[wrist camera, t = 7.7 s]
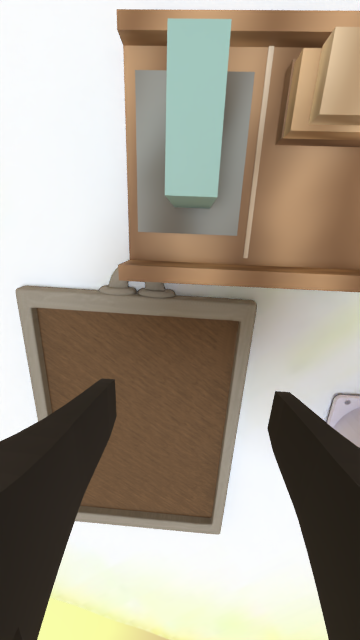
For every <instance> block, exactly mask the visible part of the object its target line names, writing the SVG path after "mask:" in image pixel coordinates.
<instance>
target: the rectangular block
mask: <svg viewBox="0 0 360 640" xmlns="http://www.w3.org/2000/svg"><path fill="white" fill-rule="evenodd" d="M231 21H232V19H173V18H168V22H167V84H166V146H165V196H166V197H167V199H168V200H169V201H170V202H171V204H172V205H173V206H174V207H182V208H208V209H210V207H211V206H212V204H213V203H214V201H215V200H216V198H217V194H218V182H219V170H220V157H221V145H222V132H223V120H224V108H225V95H226V83H227V70H228V58H229V46H230V33H231Z"/></svg>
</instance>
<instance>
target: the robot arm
mask: <svg viewBox="0 0 360 640" xmlns="http://www.w3.org/2000/svg"><path fill="white" fill-rule="evenodd" d="M346 400H348V401H346ZM345 401H346V402H345ZM116 417H117V413H116V391H115V379H104V378H102V379H100V380H99V381H97V382H96V383H94V384H93V385H92V386H90V387H89V388H88V389H86V390H85V391H84V392H82V393H81V394H79V395H78V396H77V397H75V398H74V399H72V400H71V401H70V402H68V403H67V404H65V405H64V406H62V407H61V408H59V409H58V410H56V411H55V412H53V413H52V414H50V415H48V416H47V417H45V418H44V419H42V420H40V421H39V422H37V423H35V424H33V425H32V426H30V427H28V428H26V429H24V430H22V431H21V432H19V433H17V434H15V435H13V436H11V437H9V438H7V439H4V440H2V441H0V640H37V637H38V635H39V631H40V628H41V624H42V621H43V618H44V614H45V611H46V608H47V604H48V601H49V598H50V595H51V591H52V588H53V585H54V582H55V579H56V576H57V573H58V569H59V566H60V563H61V560H62V557H63V554H64V551H65V548H66V545H67V542H68V539H69V536H70V533H71V530H72V527H73V524H74V521H75V519H76V516H77V513H78V510H79V507H80V504H81V502H82V499H83V496H84V494H85V492H86V489H87V487H88V485H89V482H90V480H91V478H92V476H93V474H94V472H95V469H96V467H97V465H98V463H99V461H100V458H101V456H102V454H103V452H104V450H105V447H106V445H107V443H108V441H109V438H110V436H111V433H112V430H113V426H114V423H115V420H116ZM268 432H269V436H270V441H271V445H272V449H273V452H274V455H275V458H276V460H277V463H278V466H279V469H280V471H281V474H282V476H283V479H284V482H285V484H286V487H287V490H288V492H289V495H290V498H291V500H292V503H293V505H294V508H295V511H296V514H297V517H298V520H299V524H300V527H301V531H302V535H303V538H304V542H305V545H306V549H307V552H308V556H309V560H310V564H311V568H312V572H313V575H314V579H315V583H316V587H317V591H318V596H319V600H320V604H321V608H322V612H323V616H324V621H325V625H326V629H327V633H328V638H329V640H360V396H351V395H338V396H336V397H335V398H334V400H333V404H332V407H331V410H330V414H329V417H328V421H327V423H326V422H325V421H324V420H322V419H321V418H320V417H319V416H318V415H316V414H315V413H314V412H313V411H312V410H310V409H309V408H308V407H307V406H306V405H304V404H303V403H302V402H301V401H300V400H298V399H297V398H296V397H295V396H294V395H292V394H291V393H290V392H277V391H275V395H274V400H273V405H272V410H271V415H270V419H269V424H268Z"/></svg>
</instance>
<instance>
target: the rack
mask: <svg viewBox="0 0 360 640" xmlns="http://www.w3.org/2000/svg"><path fill="white" fill-rule="evenodd" d="M168 18H173V19H232V21H231V33H230V46H229V58H228V70H227V83H226V95H225V108H224V120H223V132H222V145H221V157H220V170H219V182H218V194H217V198H216V200H215V201H214V203H213V204H212V206H211V207H210V209H208V208H182V207H174V206H173V205H172V204H171V202H170V201H169V200H168V199H167V197H166V196H165V146H166V84H167V22H168ZM335 27H360V11H293V10H125V9H117V30H118V33H119V35H120V38H121V40H122V43H123V48H124V82H125V115H126V149H127V183H128V217H129V251H130V260H128V261H126V262H124V263H121V264H119V265H118V271H119V281H139V282H160V283H180V284H201V285H221V286H242V287H263V288H283V289H304V290H324V291H345V292H360V147H331V146H293V145H275V143H276V136H277V129H278V122H279V115H280V108H281V101H282V94H283V86H284V79H285V72H286V70H287V69H288V67H289V65H290V63H291V62H292V60H293V59H297V58H298V57H299V55H300V53H301V52H302V50H303V48H322V46H323V44H324V43H325V42H326V40H327V39H328V37H329V36H330V34H331V33H332V31H333V30H334V28H335Z"/></svg>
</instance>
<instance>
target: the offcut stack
mask: <svg viewBox="0 0 360 640" xmlns="http://www.w3.org/2000/svg"><path fill="white" fill-rule="evenodd" d="M275 145H293V146H331V147H360V27H335V28H334V30H333V31H332V33H331V34H330V36H329V37H328V39H327V40H326V42H325V43H324V44H323V46H322V48H303V50H302V52H301V53H300V55H299V57H298V58H297V59H293V60H292V62H291V63H290V65H289V67H288V69H287V70H286V72H285V79H284V86H283V94H282V101H281V108H280V115H279V122H278V129H277V136H276V143H275Z"/></svg>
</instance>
